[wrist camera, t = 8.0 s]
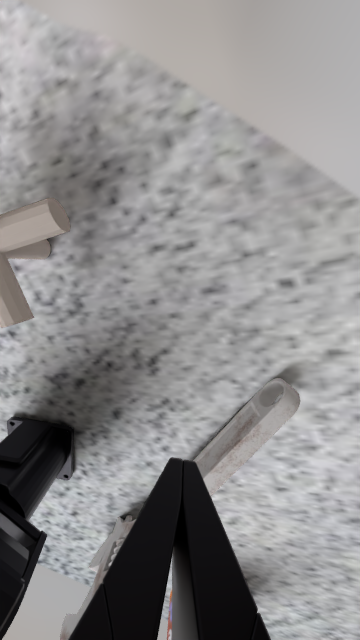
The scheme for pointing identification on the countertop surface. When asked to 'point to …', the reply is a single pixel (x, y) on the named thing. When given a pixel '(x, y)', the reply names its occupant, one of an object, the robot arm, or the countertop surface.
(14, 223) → the pipe connector
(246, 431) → the wrench
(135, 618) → the robot arm
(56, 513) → the countertop surface
